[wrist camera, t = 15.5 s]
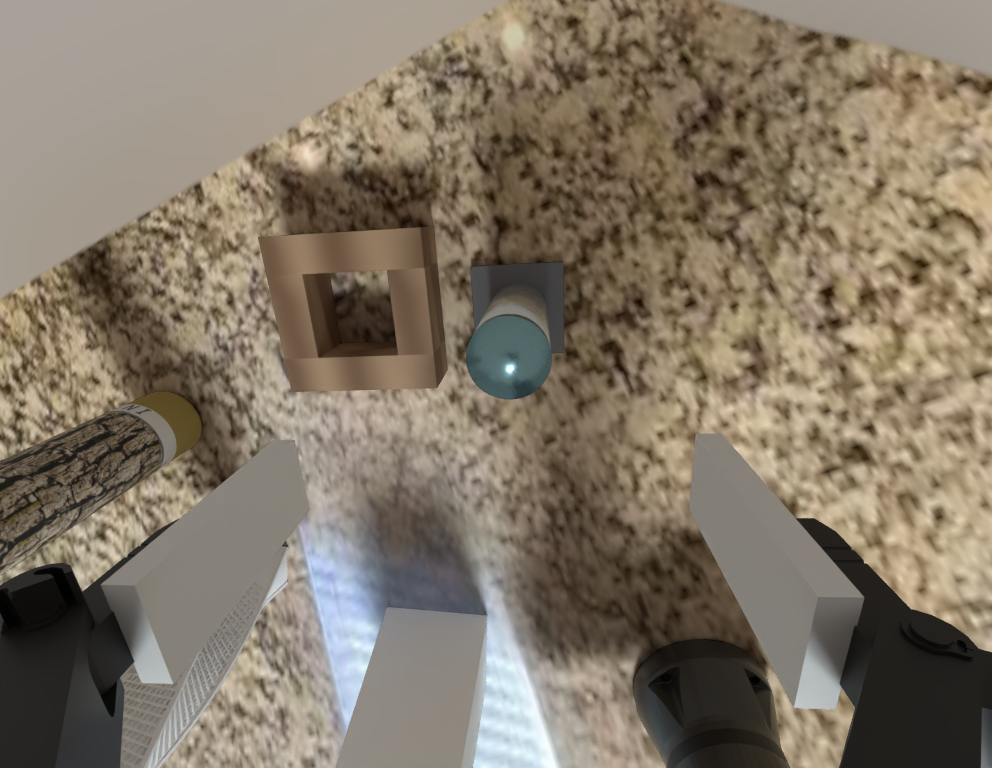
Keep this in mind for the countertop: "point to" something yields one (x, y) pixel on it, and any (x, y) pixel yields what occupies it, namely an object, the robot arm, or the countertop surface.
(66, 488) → the bark-print cylinder
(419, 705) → the milk
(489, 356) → the teal-capped metal cylinder
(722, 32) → the countertop surface
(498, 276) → the mat
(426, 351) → the housing
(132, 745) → the skyscraper
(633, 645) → the countertop surface
